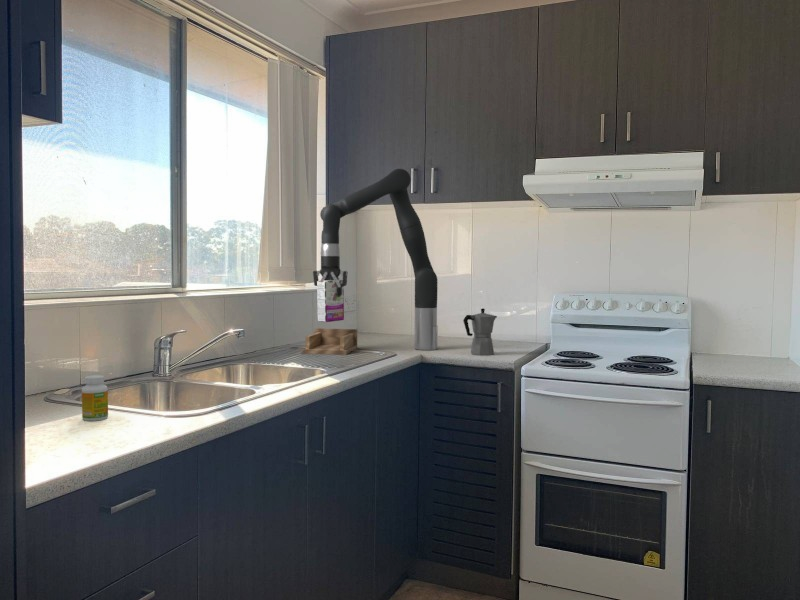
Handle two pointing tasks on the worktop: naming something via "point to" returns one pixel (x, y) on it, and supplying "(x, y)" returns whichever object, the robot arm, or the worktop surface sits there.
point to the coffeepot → (481, 332)
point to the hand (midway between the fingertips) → (330, 296)
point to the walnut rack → (331, 341)
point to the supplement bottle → (94, 399)
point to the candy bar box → (329, 302)
